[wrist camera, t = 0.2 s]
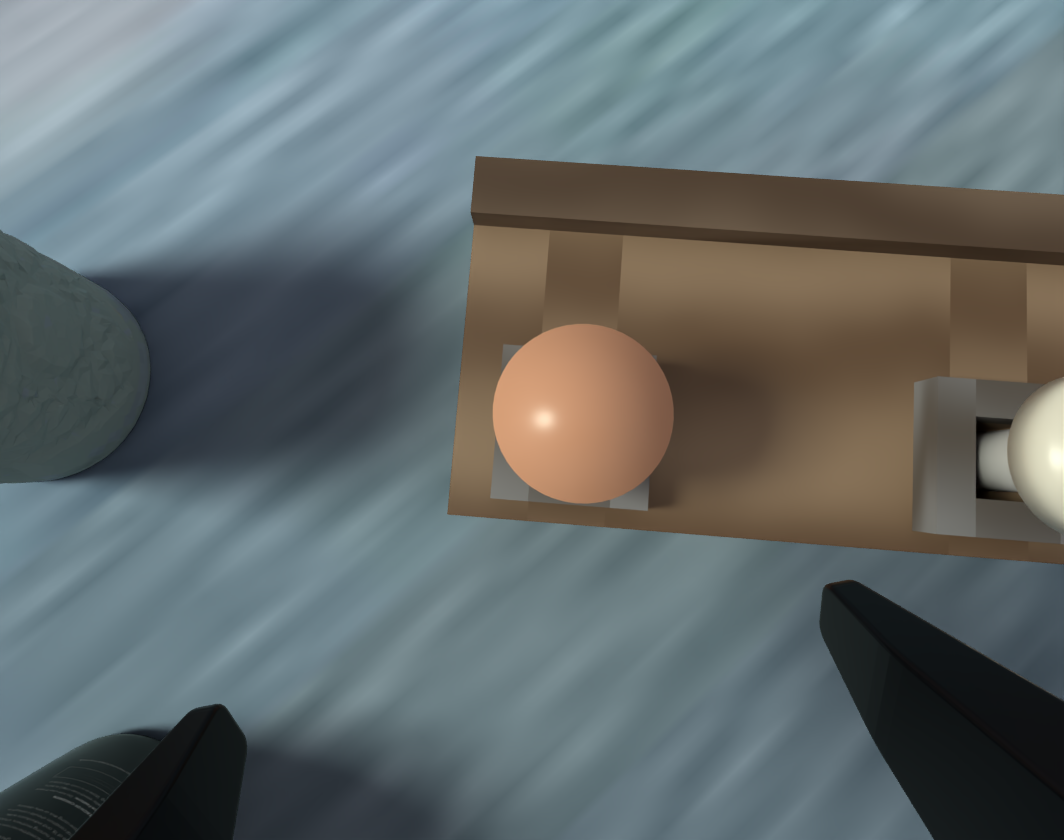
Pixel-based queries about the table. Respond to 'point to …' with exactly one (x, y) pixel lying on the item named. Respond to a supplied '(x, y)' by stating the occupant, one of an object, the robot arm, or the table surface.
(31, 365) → the grey green plant pot
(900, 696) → the robot arm
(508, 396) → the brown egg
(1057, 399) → the button cream
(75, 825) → the supplement bottle
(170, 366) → the table surface
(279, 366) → the table surface
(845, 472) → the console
